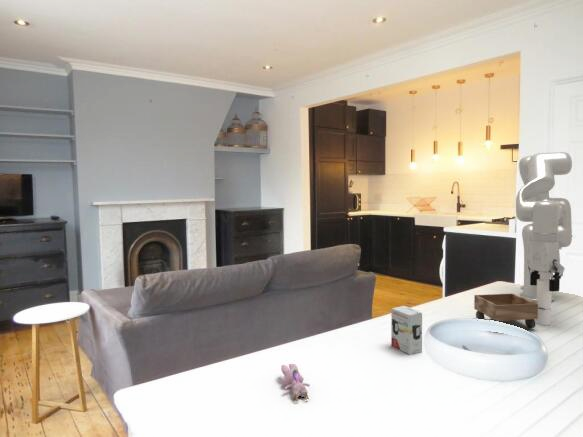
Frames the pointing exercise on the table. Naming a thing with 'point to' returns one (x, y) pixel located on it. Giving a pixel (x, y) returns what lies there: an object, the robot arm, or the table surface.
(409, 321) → the ink box
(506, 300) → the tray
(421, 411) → the table surface
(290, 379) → the rabbit figure
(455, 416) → the table surface
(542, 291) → the tube
